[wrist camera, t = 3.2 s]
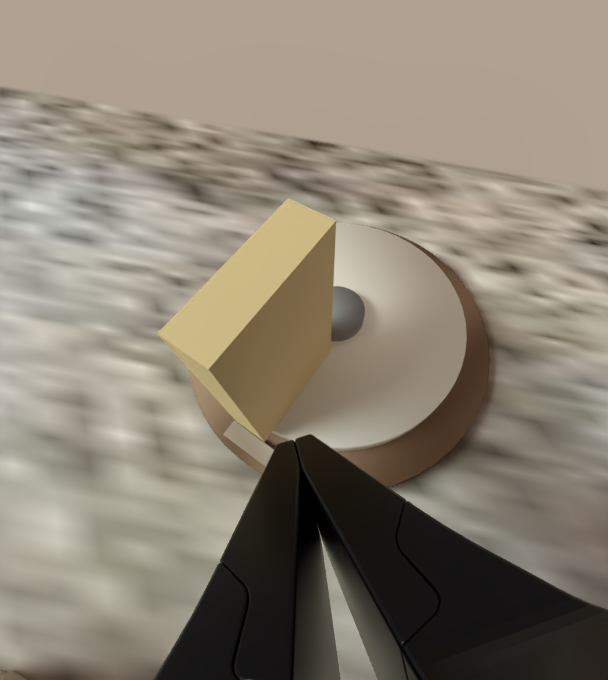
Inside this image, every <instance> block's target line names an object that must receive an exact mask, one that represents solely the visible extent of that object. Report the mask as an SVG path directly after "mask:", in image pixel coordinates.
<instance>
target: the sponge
mask: <svg viewBox="0 0 608 680" xmlns="http://www.w3.org/2000/svg"><path fill="white" fill-rule="evenodd" d="M0 680H27V679H26V678H24V677H23V676H21V675H19V674H18V673H15V672H13V671H9V672H6V671H2V670H0Z"/></svg>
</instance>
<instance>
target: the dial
mask: <svg viewBox="0 0 608 680" xmlns="http://www.w3.org/2000/svg"><path fill="white" fill-rule="evenodd" d="M157 334H158V335H159V336H160V337H161V338H162V339H163V341H164V342H165V343H166V344H167V345H168V346H169V347H170V348H171V349H172V351H173V352H174V353H175V354H176V355H177V356H178V357H179V358H180V359H181V361H182V362H183V363H184V364H185V365H186V366H187V367H188V368H189V369H190V371H191V372H192V373H193V374H194V375H195V376H196V377H197V378H198V379H199V381H200V382H201V383H202V384H203V385H204V386H205V387H206V388H207V389H208V391H209V392H210V393H211V394H212V395H213V396H214V397H215V398H216V399H217V401H218V402H219V403H220V404H221V405H222V406H223V407H224V408H225V409H226V411H227V412H228V413H229V414H230V415H231V416H232V417H233V418H234V419H235V421H237V422H238V423H239V424H241V425H242V426H243V427H245V428H246V429H248V430H249V431H250V432H252V433H253V434H254V435H256V436H257V437H258V438H260V439H261V440H262V441H264V442H265V441H266V440H267V438H268V437H269V435H270V434H271V433H272V434H274V435H276V436H277V437H279V438H282V439H284V440H286V441H289V440H294V442H295V440H296V438H299V437H302V436H305V435H308V434H312V435H314V436H315V437H316V438H318V439H319V440H321V441H322V442H324V443H325V444H327V445H328V446H329V447H331V448H332V449H334V450H335V451H338V452H348V451H356V450H364V449H368V448H372V447H376V446H379V445H383V444H385V443H387V442H390V441H392V440H395V439H397V438H399V437H401V436H402V435H404V434H406V433H407V432H409V431H411V430H412V429H414V428H415V427H416V426H417V425H419V424H420V423H421V422H422V421H423V420H425V419H426V418H427V417H428V416H429V415H430V414H431V413H432V412H433V411H434V410H435V409H436V408H437V407H438V406H439V404H440V403H441V402H442V401H443V400H444V399H445V398H446V396H447V395H448V393H449V392H450V390H451V388H452V387H453V385H454V384H455V382H456V380H457V377H458V375H459V373H460V370H461V368H462V364H463V360H464V356H465V351H466V341H467V334H466V321H465V317H464V312H463V308H462V305H461V303H460V300H459V297H458V295H457V293H456V291H455V289H454V287H453V285H452V284H451V282H450V280H449V279H448V278H447V276H446V275H445V274H444V272H443V271H442V270H441V269H440V267H439V266H438V265H437V264H436V263H435V262H434V261H433V260H432V259H431V258H430V257H428V256H427V255H426V254H425V253H424V252H422V251H421V250H420V249H418V248H417V247H415V246H414V245H412V244H411V243H409V242H407V241H405V240H403V239H401V238H400V237H398V236H395V235H393V234H390V233H388V232H385V231H383V230H379V229H375V228H372V227H368V226H362V225H356V224H345V223H336V220H334V219H332V218H329V217H327V216H325V215H323V214H321V213H319V212H316V211H314V210H312V209H310V208H308V207H306V206H304V205H301V204H299V203H297V202H295V201H293V200H291V199H287V200H286V201H285V202H284V203H283V204H282V205H281V206H280V207H279V208H278V209H277V210H276V211H275V212H274V213H273V214H272V215H271V216H270V217H269V218H268V220H267V221H266V222H265V223H264V224H263V225H262V226H261V227H260V228H259V229H258V230H257V231H256V232H255V233H254V234H253V235H252V236H251V237H250V238H249V239H248V240H247V241H246V242H245V243H244V244H243V245H242V246H241V247H240V248H239V249H238V250H237V252H236V253H235V254H234V255H233V256H232V257H231V258H230V259H229V260H228V261H227V262H226V263H225V264H224V265H223V266H222V267H221V268H220V269H219V270H218V271H217V272H216V273H215V274H214V275H213V276H212V277H211V278H210V279H209V280H208V281H207V283H206V284H205V285H204V286H203V287H202V288H201V289H200V290H199V291H198V292H197V293H196V294H195V295H194V296H193V297H192V298H191V299H190V300H189V301H188V302H187V303H186V304H185V305H184V306H183V307H182V308H181V309H180V310H179V311H178V312H177V314H176V315H175V316H174V317H173V318H172V319H171V320H170V321H169V322H168V323H167V324H166V325H165V326H164V327H163V328H162V329H161V330H160V331H159V332H158V333H157Z"/></svg>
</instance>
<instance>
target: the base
mask: <svg viewBox="0 0 608 680" xmlns="http://www.w3.org/2000/svg"><path fill="white" fill-rule="evenodd" d="M356 225H357V224H356ZM362 226H363V225H362ZM372 228H374V227H372ZM375 229H377V228H375ZM379 230H381V229H379ZM383 231H385V230H383ZM385 232H388V231H385ZM388 233H390V234H393V235H395V236H398V237H400V238H401V239H403V240H405V241H407V242H409V243H411V244H412V245H414V246H415V247H417V248H418V249H420V250H421V251H422V252H424V253H425V254H426V255H427V256H428V257H430V258H431V259H432V260H433V261H434V262H435V263H436V264H437V265H438V266H439V267H440V269H441V270H442V271H443V272H444V274H445V275H446V276H447V278H448V279H449V280H450V282H451V284H452V285H453V287H454V289H455V291H456V293H457V295H458V297H459V300H460V303H461V305H462V308H463V312H464V317H465V321H466V334H467V341H466V351H465V356H464V360H463V364H462V368H461V370H460V373H459V375H458V377H457V380H456V382H455V384H454V385H453V387H452V388H451V390H450V392H449V393H448V395H447V396H446V398H445V399H444V400H443V401H442V402H441V403H440V404H439V406H438V407H437V408H436V409H435V410H434V411H433V412H432V413H431V414H430V415H429V416H428V417H427V418H426V419H425V420H423V421H422V422H421V423H420V424H419V425H417V426H416V427H415V428H414V429H412V430H411V431H409V432H407V433H406V434H404V435H402V436H401V437H399V438H397V439H395V440H392V441H390V442H387V443H385V444H383V445H379V446H376V447H372V448H368V449H364V450H356V451H348V452H338V451H337V452H338V453H339V454H341V455H342V456H344V457H345V458H347V459H348V460H350V461H351V462H352V463H354V464H355V465H357V466H358V467H360V468H361V469H362V470H364V471H365V472H367V473H368V474H370V475H371V476H373V477H374V478H375V479H377V480H378V481H380V482H381V483H383V484H384V485H385V486H387V487H390V486H393V485H396V484H398V483H400V482H402V481H405V480H407V479H409V478H412V477H414V476H416V475H418V474H420V473H421V472H423V471H424V470H426V469H427V468H429V467H431V466H432V465H434V464H435V463H437V462H438V461H439V460H440V459H441V458H442V457H444V456H445V455H446V454H447V453H448V452H449V451H450V450H452V449H453V448H454V446H455V445H456V444H457V443H458V442H459V440H460V439H461V438H462V437H463V436H464V434H465V433H466V432H467V430H468V429H469V427H470V425H471V424H472V422H473V420H474V419H475V417H476V415H477V413H478V411H479V408H480V405H481V403H482V400H483V398H484V395H485V390H486V386H487V381H488V374H489V348H488V339H487V335H486V331H485V327H484V323H483V321H482V318H481V315H480V313H479V310H478V308H477V306H476V304H475V302H474V301H473V299H472V297H471V295H470V293H469V292H468V290H467V289H466V288H465V286H464V285H463V284H462V282H461V281H460V280H459V278H458V277H457V276H456V275H455V274H454V273H453V272H452V271H451V270H450V269H449V268H448V267H447V266H446V265H445V264H444V263H443V262H442V261H440V260H439V259H438V258H437V257H436V256H434V255H433V254H432V253H430V252H429V251H427V250H426V249H424V248H422V247H421V246H419V245H418V244H416V243H414V242H412V241H410V240H408V239H406V238H404V237H401V236H399V235H396V234H394V233H391V232H388ZM189 373H190V380H191V383H192V387H193V391H194V395H195V398H196V400H197V402H198V405H199V407H200V409H201V412H202V414H203V415H204V417H205V419H206V420H207V422H208V424H209V425H210V427H211V428H212V430H213V431H214V432H215V434H216V435H217V436H218V437H219V438H220V440H221V441H222V442H223V443H224V444H225V446H226V447H228V448H229V449H230V450H231V451H232V452H233V453H234V454H235V455H237V456H238V457H239V458H240V459H241V460H242V461H244V462H245V463H247V464H248V465H250V466H251V467H253V468H254V469H256V470H257V471H259V472H260V473H263V471H264V469H265V467H266V465H267V463H268V461H269V459H270V457H271V455H272V453H273V451H274V449H275V447H276V445H277V444H279V443H282V442H286V440H284V439H282V438H279V437H277V436H276V435H274V434H272V433H271V434H270V435H269V437H268V438H267V440H266V441H265V442H264V441H262V440H261V439H260V438H258V437H257V436H256V435H254V434H253V433H252V432H250V431H249V430H248V429H246V428H245V427H243V426H242V425H241V424H239V423H238V422H237V421H235V419H234V418H233V417H232V416H231V415H230V414H229V413H228V412H227V411H226V409H225V408H224V407H223V406H222V405H221V404H220V403H219V402H218V401H217V399H216V398H215V397H214V396H213V395H212V394H211V393H210V392H209V391H208V389H207V388H206V387H205V386H204V385H203V384H202V383H201V382H200V381H199V379H198V378H197V377H196V376H195V375H194V374H193V373H192V372H191V371H190V369H189Z"/></svg>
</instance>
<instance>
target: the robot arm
mask: <svg viewBox="0 0 608 680" xmlns="http://www.w3.org/2000/svg"><path fill="white" fill-rule="evenodd" d="M317 524H318V525H317ZM318 528H319V529H318ZM319 531H320V533H319ZM320 535H321V538H322V541H323V543H324V546H325V549H326V551H327V554H328V556H329V559H330V561H331V564H332V566H333V569H334V571H335V574H336V576H337V579H338V581H339V584H340V586H341V589H342V591H343V594H344V596H345V599H346V601H347V604H348V606H349V609H350V611H351V614H352V616H353V619H354V621H355V624H356V626H357V629H358V631H359V634H360V636H361V639H362V641H363V644H364V646H365V649H366V651H367V654H368V656H369V659H370V661H371V664H372V666H373V669H374V671H375V674H376V676H377V679H378V680H608V610H607V609H605V608H602V607H599V606H596V605H593V604H591V603H588V602H586V601H584V600H581V599H579V598H577V597H574V596H572V595H570V594H568V593H566V592H565V591H563V590H561V589H559V588H557V587H555V586H553V585H551V584H549V583H547V582H546V581H544V580H542V579H540V578H538V577H536V576H535V575H533V574H531V573H529V572H527V571H525V570H524V569H522V568H520V567H518V566H516V565H514V564H512V563H511V562H509V561H507V560H505V559H503V558H501V557H500V556H498V555H496V554H494V553H492V552H490V551H489V550H487V549H485V548H483V547H481V546H479V545H477V544H476V543H474V542H472V541H470V540H469V539H467V538H465V537H463V536H462V535H460V534H458V533H457V532H455V531H453V530H451V529H450V528H448V527H446V526H445V525H443V524H442V523H440V522H438V521H437V520H435V519H434V518H432V517H431V516H429V515H428V514H426V513H425V512H423V511H422V510H420V509H419V508H417V507H416V506H414V505H413V504H412V503H410V502H408V501H407V502H406V500H405V499H404V498H403V497H401V496H400V495H398V494H397V493H396V492H394V491H393V490H391V489H390V488H388V487H387V486H385V485H384V484H383V483H381V482H380V481H378V480H377V479H375V478H374V477H373V476H371V475H370V474H368V473H367V472H365V471H364V470H362V469H361V468H360V467H358V466H357V465H355V464H354V463H352V462H351V461H350V460H348V459H347V458H345V457H344V456H342V455H341V454H339V453H338V452H337V451H335V450H334V449H332V448H331V447H329V446H328V445H327V444H325V443H324V442H322V441H321V440H319V439H318V438H316V437H315V436H314V435H312V434H308V435H305V436H302V437H299V438H296V440H295V442H294V440H289V441H286V442H282V443H279V444H277V445H276V447H275V449H274V451H273V453H272V455H271V457H270V459H269V461H268V463H267V465H266V467H265V469H264V471H263V473H262V476H261V478H260V480H259V482H258V484H257V486H256V488H255V490H254V492H253V494H252V496H251V498H250V500H249V502H248V504H247V506H246V508H245V510H244V512H243V514H242V516H241V518H240V520H239V523H238V525H237V527H236V529H235V531H234V533H233V535H232V537H231V539H230V541H229V543H228V545H227V547H226V549H225V551H224V553H223V555H222V557H221V559H220V563H219V564H218V565H217V567H216V569H215V571H214V573H213V575H212V577H211V579H210V581H209V583H208V585H207V587H206V589H205V591H204V593H203V595H202V597H201V599H200V601H199V603H198V604H197V606H196V608H195V610H194V612H193V614H192V616H191V617H190V619H189V621H188V622H187V624H186V626H185V628H184V629H183V631H182V633H181V634H180V636H179V638H178V640H177V641H176V643H175V645H174V647H173V648H172V650H171V652H170V653H169V655H168V657H167V658H166V660H165V661H164V663H163V665H162V666H161V668H160V670H159V671H158V673H157V675H156V676H155V678H154V680H340V673H339V665H338V658H337V651H336V644H335V636H334V629H333V622H332V614H331V607H330V600H329V593H328V585H327V578H326V571H325V564H324V556H323V549H322V543H321V538H320Z"/></svg>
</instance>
